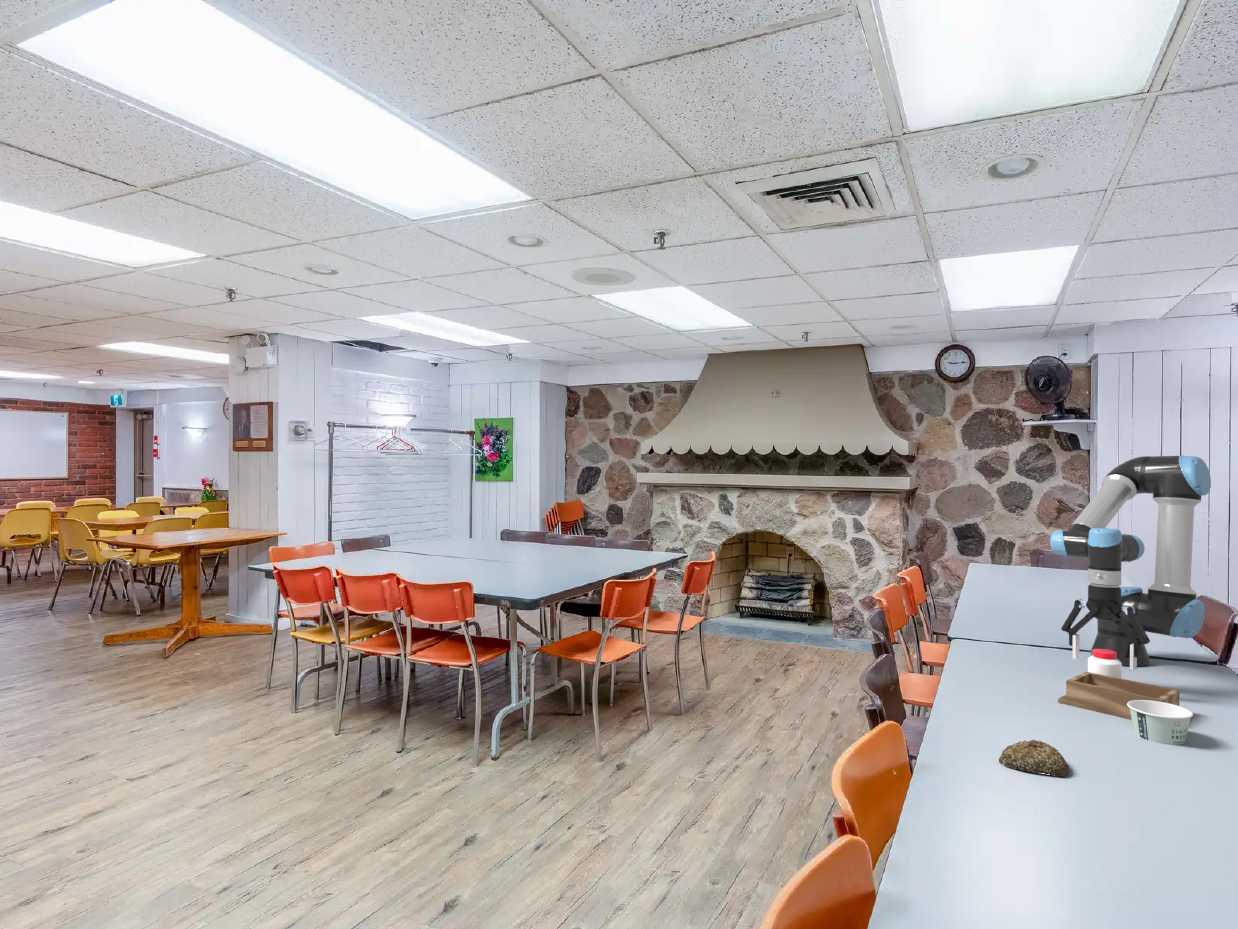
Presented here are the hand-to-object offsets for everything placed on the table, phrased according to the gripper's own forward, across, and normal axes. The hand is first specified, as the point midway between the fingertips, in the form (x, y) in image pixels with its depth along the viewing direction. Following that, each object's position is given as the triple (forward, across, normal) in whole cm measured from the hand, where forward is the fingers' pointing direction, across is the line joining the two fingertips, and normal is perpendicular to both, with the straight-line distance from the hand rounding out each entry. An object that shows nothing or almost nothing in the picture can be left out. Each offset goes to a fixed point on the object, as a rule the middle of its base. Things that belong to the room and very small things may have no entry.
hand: (1103, 663), depth 196 cm
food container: (+8, +20, -27) cm, 35 cm away
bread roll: (+9, +9, -66) cm, 67 cm away
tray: (+8, +8, -12) cm, 17 cm away
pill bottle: (+8, 0, +1) cm, 8 cm away
